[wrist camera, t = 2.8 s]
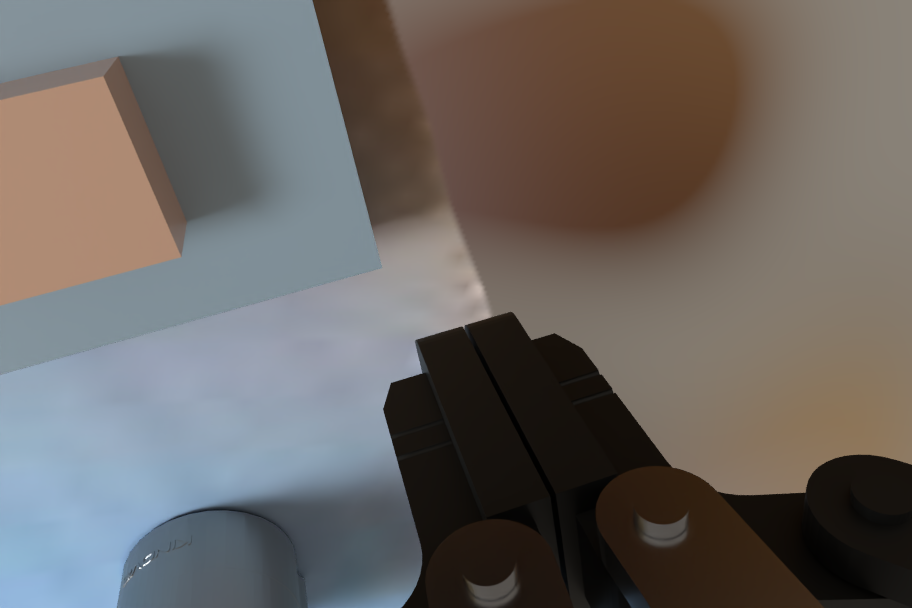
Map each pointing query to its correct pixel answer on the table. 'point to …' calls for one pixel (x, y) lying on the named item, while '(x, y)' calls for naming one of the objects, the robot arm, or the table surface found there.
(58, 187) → the tan rectangular block
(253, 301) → the block
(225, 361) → the table surface
